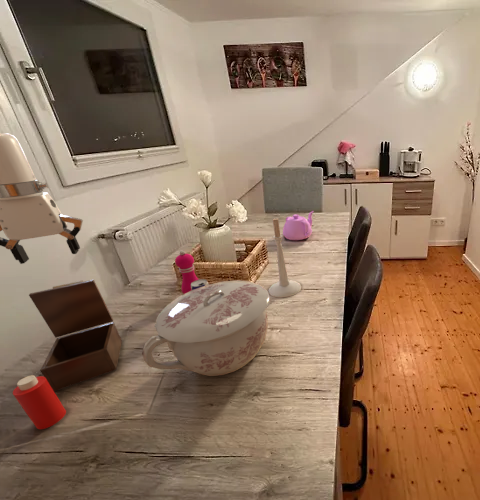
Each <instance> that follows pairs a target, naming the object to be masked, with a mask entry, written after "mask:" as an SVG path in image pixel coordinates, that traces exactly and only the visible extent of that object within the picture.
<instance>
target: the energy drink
mask: <svg viewBox="0 0 480 500" xmlns="http://www.w3.org/2000/svg"><path fill="white" fill-rule="evenodd" d="M209 284H210V283H209V282H208V279H205V278H200V279H199V280H196V281H194V282H192V283H191V289H192V290H194V289H197V288H200V287H203V286H205V285H209Z"/></svg>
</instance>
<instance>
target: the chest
mask: <svg viewBox="0 0 480 500" xmlns="http://www.w3.org/2000/svg"><path fill="white" fill-rule="evenodd" d="M120 335H121V334H120V333H119V331H118V329H117V327H116V323H115V322H114V321H113V322H109V323H106V324H102V325H99V326H95V327H92V328H88V329H85V330H81V331H77V332H74V333H70V334H67V335H63V336H60V337H56V338H55V340H54V342H53V345H52V346H51V349H50V350H49V352H48V354H47V356H46V358H45V360H44V362H43V364H42V366H41V367H40V370H39V371H40V373H41V375H42V376H43V377H45V378H46V379H47V381H48V383H49V384H50V386H51V387H52V389H53V391H54V392H57V391H60V390H62V389H65V388H68V387H71V386H73V385H74V386H75V385H77V384H80V383H82V382H85V381H88V380H91V379H94V378H97V377H99V376H102V375H103V376H104V375H105V374H108V373H111V372H114V371H116V370H117V368H118V363H119V358H120V354H121V347H122V337H121V336H120Z"/></svg>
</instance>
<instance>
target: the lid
mask: <svg viewBox="0 0 480 500" xmlns="http://www.w3.org/2000/svg"><path fill="white" fill-rule="evenodd" d="M97 285H98V284H97V283H96V280H95V279H90V280H78V281H77V280H76V281H73V282H68V283H63V284H59V285H54V286H52V288H48V289H44V290H39V291H35V292H30V293H29V294H28V296H29V298H30V299H31V301H32V303H33V305H34V306H35V307H36V309H37V311H38V312H39V314H40V315H41V317H42V319H43V320H44V321H45V323H46V325H47V327H48V328H49V330H50V331H51V333H52V335H53V336H54V338H55V339H57V338H59V337H63V336H66V335H70V334H73V333H77V332H81V331H84V330H88V329H91V328H95V327H98V326H102V325H105V324H109V323H112V322H114V319H113V317H112V314H111V312H110V310H109V308H108V306H107V304H106V302H105V300H104V298H103V296H102V294H101V292H100V290H99V288H98V286H97Z"/></svg>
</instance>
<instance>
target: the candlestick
mask: <svg viewBox="0 0 480 500" xmlns="http://www.w3.org/2000/svg"><path fill="white" fill-rule="evenodd" d="M272 225H273V231H274V235H273V236H272V238H273V239H274V242H275V243H276V246H275V247H276V256H277V270H278V281H277V282H275V283H273V284H272V285H271V286H270V287H269V288H268V294H269V296H272V297H274V298H280V299H281V298H289V297H292V296H294V295H296V294H298V293H299V292H301V290H302V285H301V283H300V282H298V281H296V280H293V279H289V276H288V271H287V266H286V261H285V260H286V259H285V255H284V250H283V245H282V241H283V237H284V235H283V234H281V229H280V221H279V218H278V217H277V218H276V217H274V218H272Z"/></svg>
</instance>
